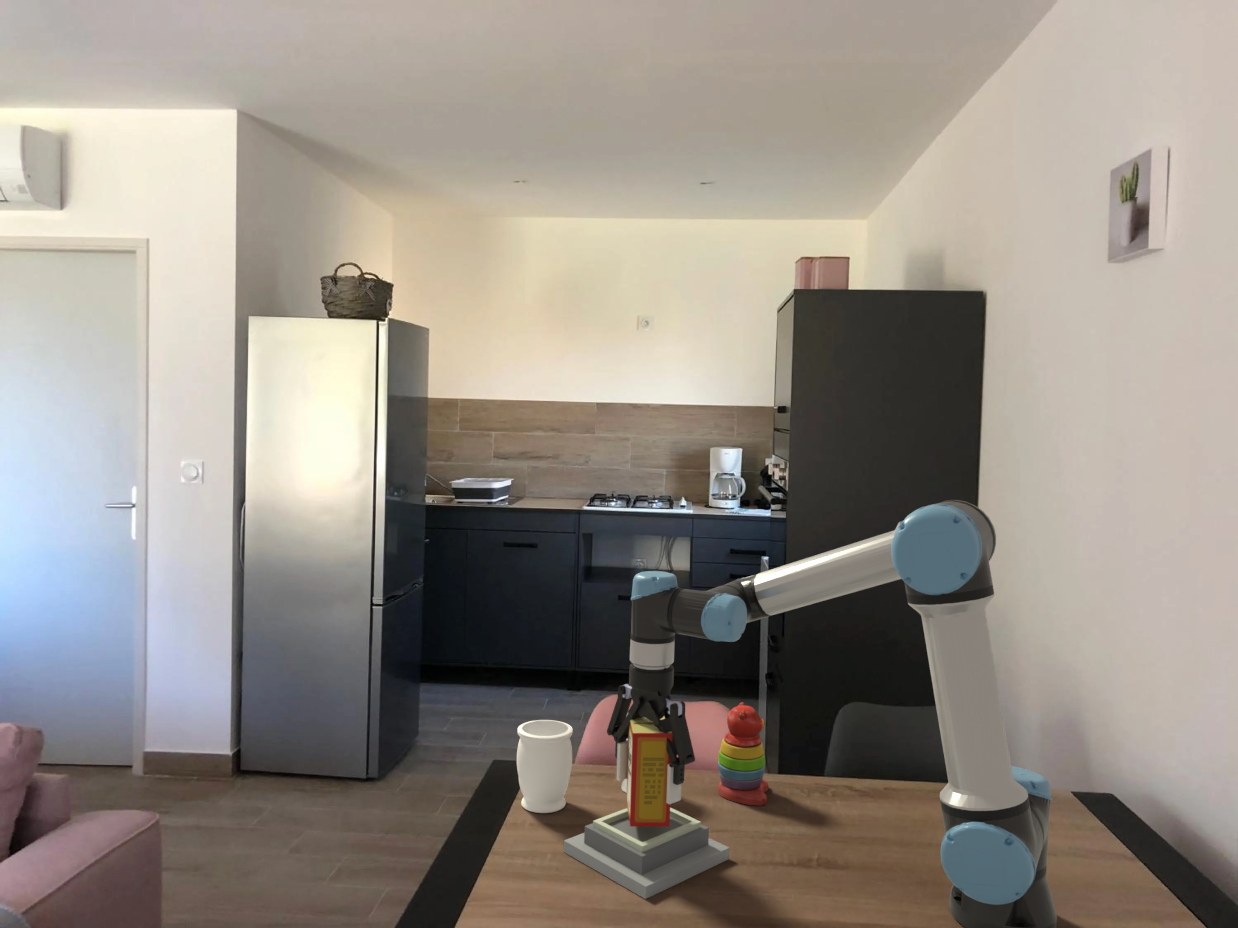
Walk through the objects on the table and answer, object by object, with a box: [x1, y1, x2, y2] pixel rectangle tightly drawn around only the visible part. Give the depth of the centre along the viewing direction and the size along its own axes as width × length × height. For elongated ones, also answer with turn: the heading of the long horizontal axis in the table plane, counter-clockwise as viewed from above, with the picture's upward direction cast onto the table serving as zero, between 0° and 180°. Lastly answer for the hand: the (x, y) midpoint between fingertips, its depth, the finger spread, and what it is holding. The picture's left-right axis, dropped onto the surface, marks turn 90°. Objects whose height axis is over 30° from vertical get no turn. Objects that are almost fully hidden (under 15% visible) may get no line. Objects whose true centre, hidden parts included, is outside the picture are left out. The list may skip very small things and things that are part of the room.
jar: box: [516, 719, 573, 814], centre depth 176 cm, size 11×10×15 cm
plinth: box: [563, 807, 730, 900], centre depth 157 cm, size 20×20×6 cm
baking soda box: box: [625, 717, 672, 826], centre depth 156 cm, size 10×6×16 cm
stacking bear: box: [717, 701, 769, 807], centre depth 184 cm, size 11×10×18 cm
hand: (647, 789), depth 157 cm, fingers closed on baking soda box, 11 cm apart
